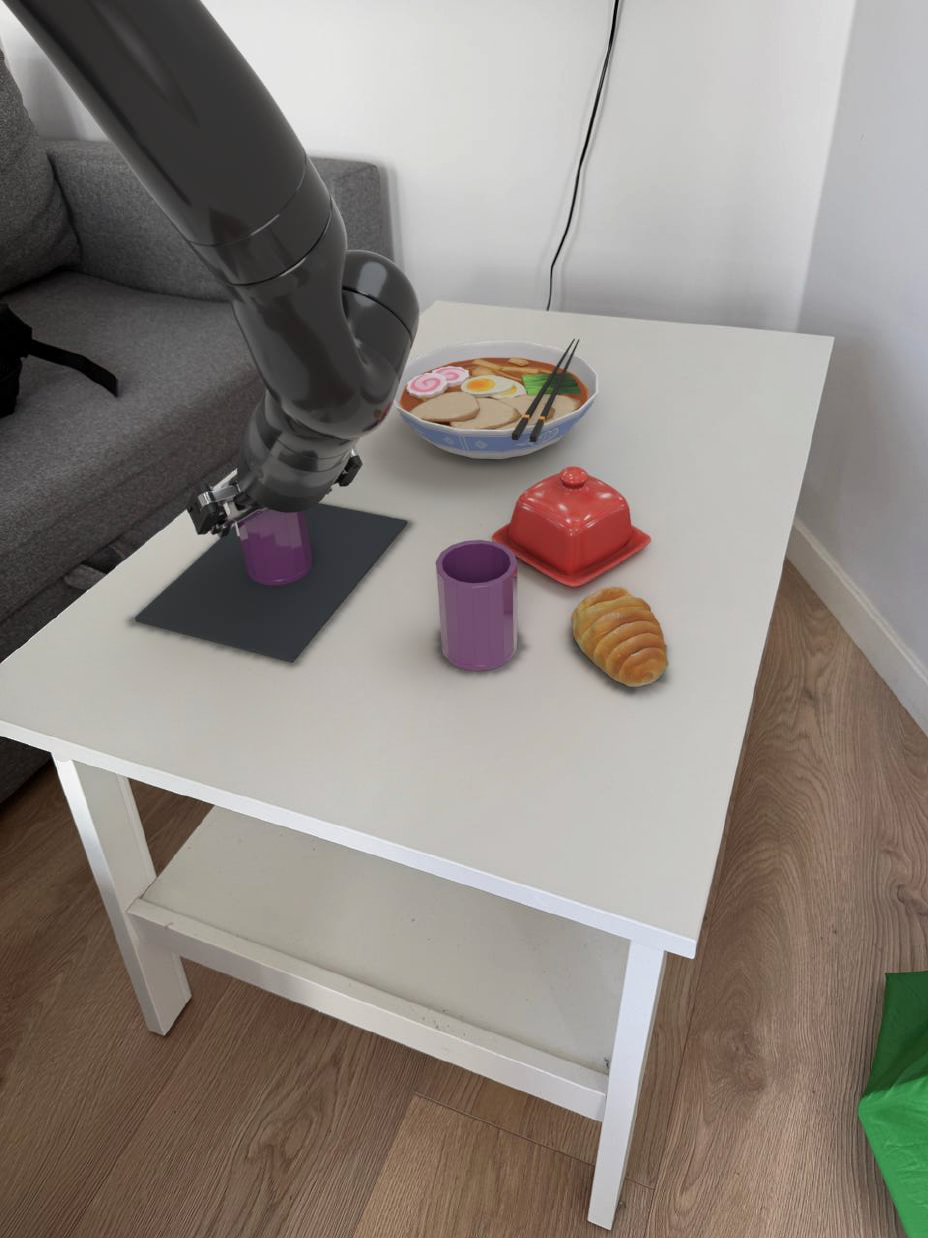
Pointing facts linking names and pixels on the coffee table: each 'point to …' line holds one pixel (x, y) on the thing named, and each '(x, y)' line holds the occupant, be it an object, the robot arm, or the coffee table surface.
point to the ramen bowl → (495, 396)
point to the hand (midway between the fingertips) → (263, 511)
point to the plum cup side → (477, 604)
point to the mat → (274, 615)
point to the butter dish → (572, 527)
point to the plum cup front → (276, 547)
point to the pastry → (620, 636)
